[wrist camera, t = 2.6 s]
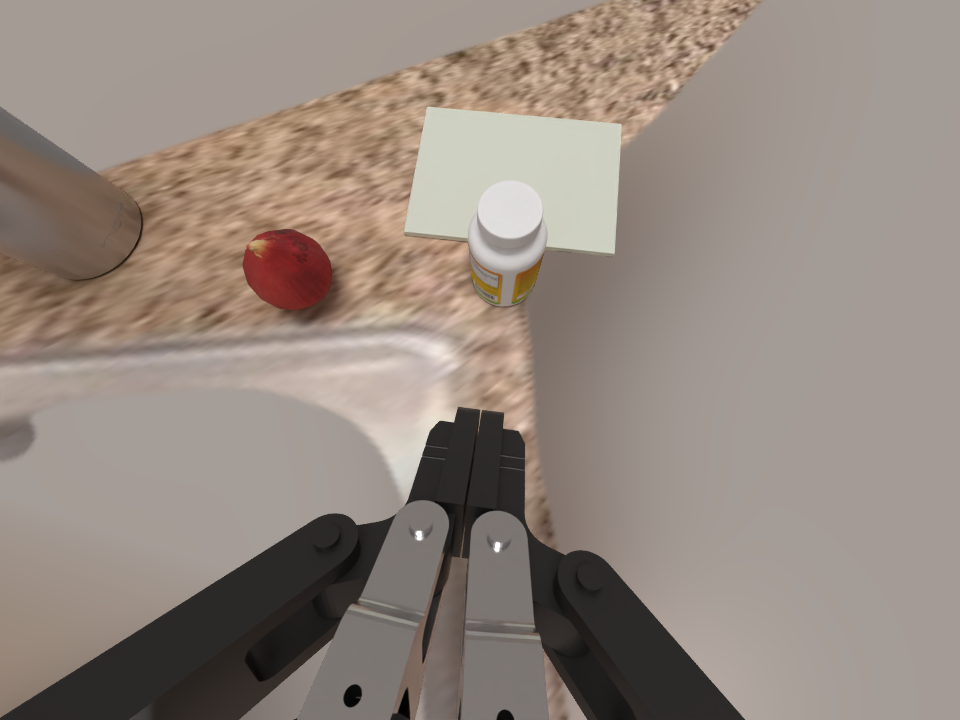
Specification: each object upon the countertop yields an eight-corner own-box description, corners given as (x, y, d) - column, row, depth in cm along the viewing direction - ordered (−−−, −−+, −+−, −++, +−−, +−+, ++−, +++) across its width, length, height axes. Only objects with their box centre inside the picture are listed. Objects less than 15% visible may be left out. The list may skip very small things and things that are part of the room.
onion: (302, 248, 32) (243, 187, 25) (358, 275, 32) (317, 221, 24) (265, 305, 31) (192, 260, 24) (323, 333, 31) (268, 297, 23)
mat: (405, 235, 33) (403, 231, 32) (428, 112, 35) (427, 106, 35) (612, 257, 32) (614, 253, 31) (619, 129, 34) (621, 124, 34)
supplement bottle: (533, 248, 32) (552, 167, 23) (537, 307, 31) (559, 247, 21) (470, 250, 32) (464, 170, 23) (472, 309, 31) (466, 251, 21)
